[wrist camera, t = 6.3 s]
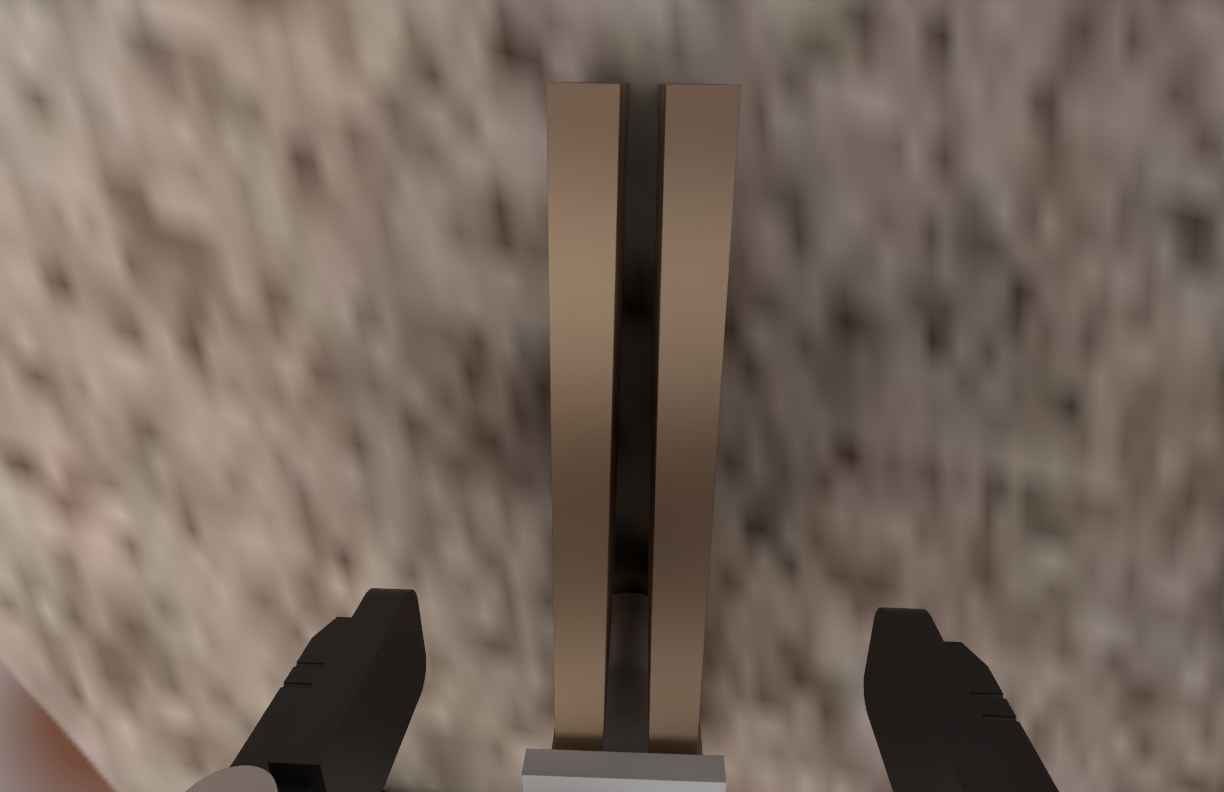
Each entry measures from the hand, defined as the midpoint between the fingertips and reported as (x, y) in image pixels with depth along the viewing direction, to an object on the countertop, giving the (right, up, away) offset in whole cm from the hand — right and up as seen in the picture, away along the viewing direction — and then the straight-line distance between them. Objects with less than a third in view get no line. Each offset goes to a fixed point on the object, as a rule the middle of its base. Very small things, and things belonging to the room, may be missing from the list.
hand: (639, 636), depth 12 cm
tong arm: (0, +4, +6) cm, 7 cm away
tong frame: (0, +2, +7) cm, 7 cm away
